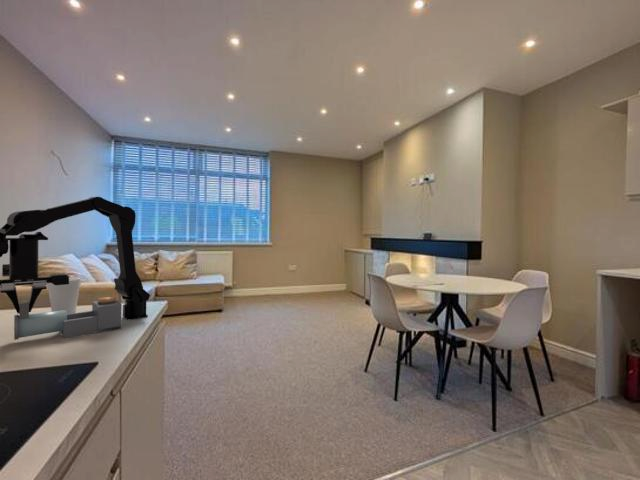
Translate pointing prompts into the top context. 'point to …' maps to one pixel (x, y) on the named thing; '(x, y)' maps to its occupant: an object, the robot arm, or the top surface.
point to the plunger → (106, 300)
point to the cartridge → (37, 321)
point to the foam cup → (64, 295)
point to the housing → (93, 320)
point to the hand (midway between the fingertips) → (24, 312)
